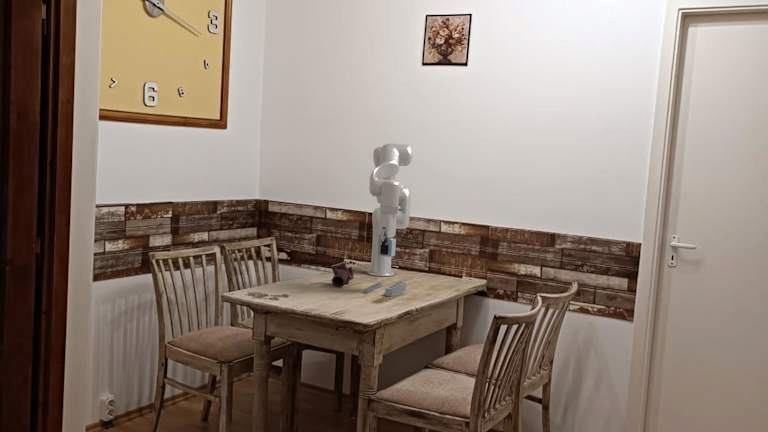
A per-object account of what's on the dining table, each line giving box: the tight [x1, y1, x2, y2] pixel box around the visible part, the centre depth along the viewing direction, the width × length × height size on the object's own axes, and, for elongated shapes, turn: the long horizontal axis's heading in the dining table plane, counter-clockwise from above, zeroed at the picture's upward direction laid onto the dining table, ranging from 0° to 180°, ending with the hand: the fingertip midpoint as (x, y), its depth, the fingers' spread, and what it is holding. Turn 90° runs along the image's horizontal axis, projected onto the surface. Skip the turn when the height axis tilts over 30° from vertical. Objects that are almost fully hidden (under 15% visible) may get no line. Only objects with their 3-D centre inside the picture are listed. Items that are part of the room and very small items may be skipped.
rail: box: [363, 281, 407, 298], centre depth 325 cm, size 12×18×4 cm
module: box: [378, 238, 397, 258], centre depth 324 cm, size 6×5×7 cm
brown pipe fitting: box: [331, 261, 355, 289], centre depth 334 cm, size 6×17×10 cm, turn 173°
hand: (386, 253), depth 324 cm, fingers closed on module, 5 cm apart
